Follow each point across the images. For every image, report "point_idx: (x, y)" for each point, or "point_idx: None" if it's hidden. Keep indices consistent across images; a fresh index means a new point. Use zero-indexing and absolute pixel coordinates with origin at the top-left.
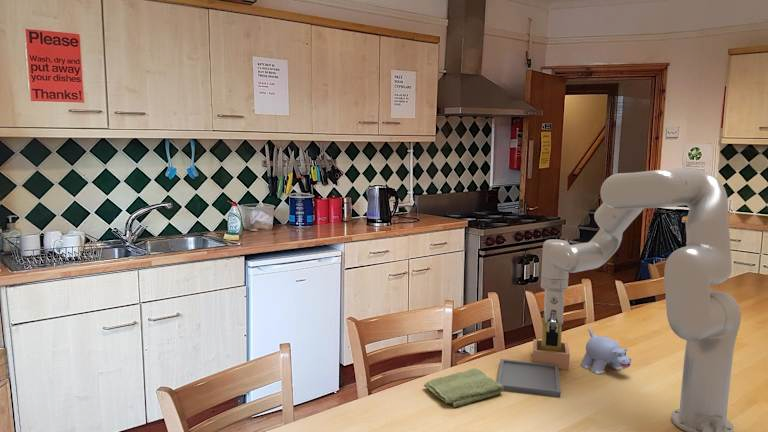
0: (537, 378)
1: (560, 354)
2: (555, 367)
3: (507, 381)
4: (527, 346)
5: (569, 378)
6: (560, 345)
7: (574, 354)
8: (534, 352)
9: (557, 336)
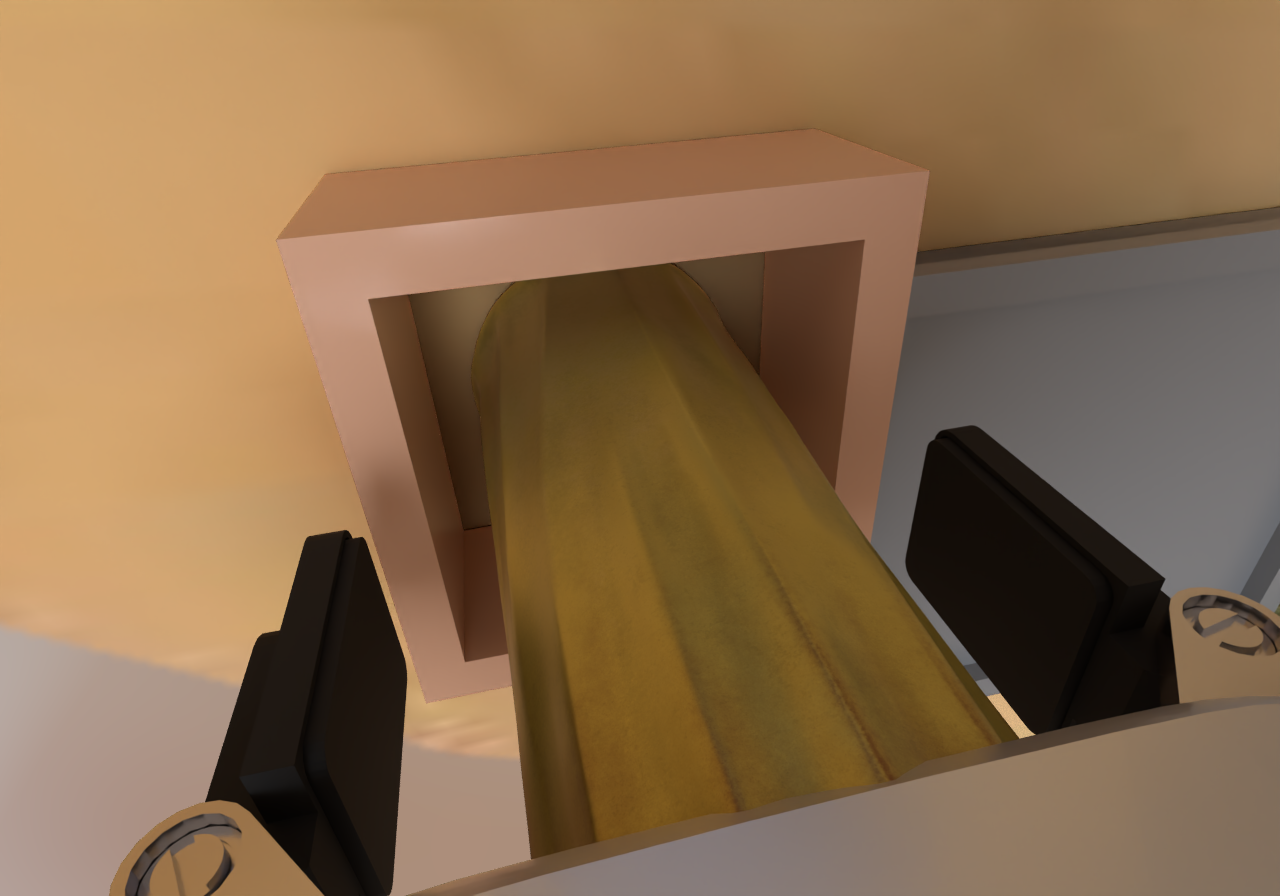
0: (1141, 422)
1: (898, 310)
2: (955, 304)
3: (1175, 590)
4: (232, 647)
5: (1066, 111)
6: (683, 363)
7: (122, 48)
8: None
9: (1099, 533)
